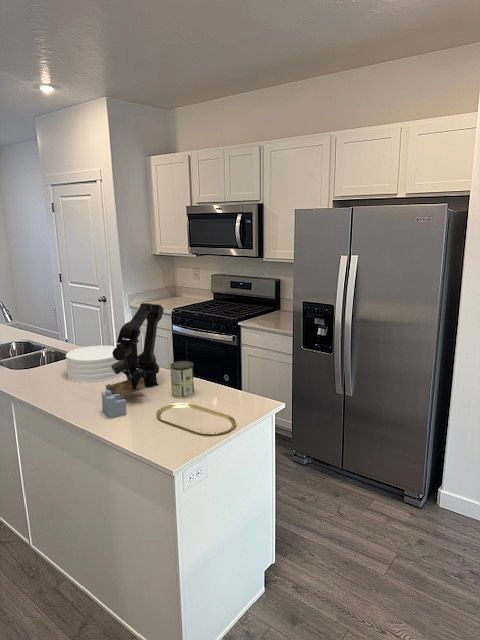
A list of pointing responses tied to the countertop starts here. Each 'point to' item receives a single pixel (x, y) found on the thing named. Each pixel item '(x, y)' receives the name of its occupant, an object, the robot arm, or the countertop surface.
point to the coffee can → (182, 379)
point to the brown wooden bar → (125, 387)
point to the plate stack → (91, 364)
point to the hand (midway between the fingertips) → (132, 388)
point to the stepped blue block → (113, 404)
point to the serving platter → (199, 410)
